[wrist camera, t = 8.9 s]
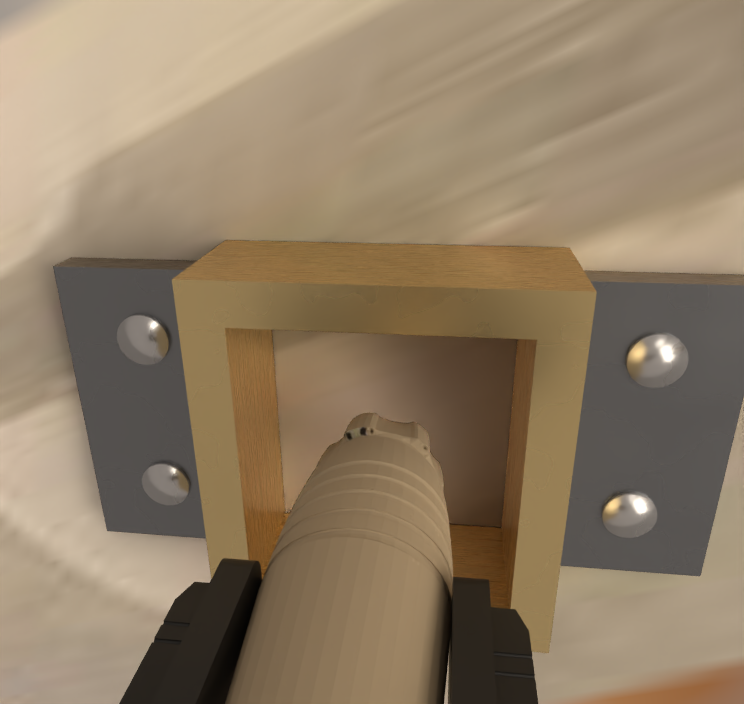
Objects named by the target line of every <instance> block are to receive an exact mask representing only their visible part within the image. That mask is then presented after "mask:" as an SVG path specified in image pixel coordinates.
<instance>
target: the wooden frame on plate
mask: <svg viewBox="0 0 744 704" xmlns="http://www.w3.org/2000/svg"><path fill="white" fill-rule="evenodd" d="M53 269H54V273H55V278H56V283H57V288H58V293H59V298H60V303H61V308H62V313H63V317H64V322H65V327H66V332H67V337H68V342H69V347H70V352H71V356H72V361H73V366H74V371H75V376H76V381H77V386H78V391H79V395H80V400H81V405H82V410H83V415H84V420H85V425H86V430H87V434H88V439H89V444H90V449H91V454H92V459H93V464H94V469H95V474H96V478H97V483H98V488H99V493H100V498H101V503H102V508H103V513H104V517H105V522H106V527H107V531H116V532H129V533H142V534H155V535H168V536H181V537H194V538H206V541H207V549H208V557H209V564H210V572H211V579H212V577H213V575H214V573H215V571H216V569H217V567H218V565H219V563H220V561H221V560H222V559H223V558H230V559H243V560H256V561H259V562H260V565H261V572H262V579H263V576H264V574H265V571H266V569H267V566H268V563H269V561H270V558H271V556H272V553H273V551H274V548H275V546H276V543H277V541H278V538H279V536H280V533H281V531H282V529H283V526H284V524H285V522H286V520H287V518H288V516H289V515H290V513H285V504H284V491H283V477H282V463H281V449H280V436H279V422H278V408H277V394H276V381H275V367H274V353H273V339H272V330H295V331H322V332H348V333H374V334H401V335H427V336H454V337H480V338H506V339H517V351H516V363H515V374H514V386H513V398H512V409H511V421H510V433H509V444H508V456H507V468H506V479H505V491H504V503H503V514H502V526H501V528H493V527H479V526H465V525H451V524H449V528H450V538H451V549H452V561H453V567H452V568H453V577H465V578H477V579H489V584H490V600H491V607H495V608H507V609H516V611H517V612H518V614H519V616H520V617H521V619H522V620H523V622H524V624H525V625H526V627H527V628H528V630H529V634H530V642H531V650H532V652H541V653H549V647H550V640H551V632H552V625H553V617H554V610H555V602H556V595H557V587H558V580H559V572H560V566H573V567H586V568H599V569H612V570H625V571H638V572H651V573H664V574H677V575H690V576H700V575H701V571H702V567H703V563H704V559H705V554H706V550H707V546H708V542H709V538H710V534H711V530H712V525H713V521H714V517H715V513H716V509H717V505H718V501H719V496H720V492H721V488H722V484H723V480H724V476H725V471H726V467H727V463H728V459H729V455H730V451H731V447H732V442H733V438H734V434H735V430H736V426H737V422H738V418H739V413H740V409H741V405H742V401H743V397H744V275H725V274H687V273H648V272H609V271H583V269H582V267H581V266H580V264H579V262H578V261H577V259H576V258H575V256H574V254H573V253H572V251H571V250H570V248H555V247H510V246H464V245H419V244H373V243H328V242H282V241H236V240H226V241H224V242H223V243H221V244H220V245H219V246H217V247H216V248H214V249H213V250H212V251H210V252H209V253H208V254H206V255H205V256H203V257H202V258H201V259H199V260H198V261H184V260H145V259H106V258H70V259H67V260H65V261H63V262H61V263H59V264H57V265H55V266H53Z"/></svg>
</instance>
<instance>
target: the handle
mask: <svg viewBox="0 0 744 704" xmlns="http://www.w3.org/2000/svg"><path fill="white" fill-rule="evenodd" d="M443 493H444V481H443V473H442V470H441V466H440V463H439V462H438V461H437V460H436V459H435V458H433V456H432V455H431V453H430V443H429V436H428V432H427V431H426V430H425V429H424V428H423V427H422V426H421V425H419V424H418V423H416V422H411V423H398V422H393V421H389V420H386V419H383V418H381V417H379V416H378V414H376V413H370V412H369V413H363V414H361V415H358V416H356V417H355V418H353V420H352V421H351V422H350V424H349V425H348V427H347V429H346V432H345V434H344V437H343V438H342V439H341V440H340V441H339V442H337V443H334V444H332V445H330V446H329V447H328V448H327V450H326V451H325V452H324V454H323V455H322V457H321V459H320V461H319V462H318V464H317V467H316V469H315V470H314V472H313V473H312V475H311V476H310V478H309V479H308V481H307V483H306V484H305V486H304V488H303V489H302V491H301V493H300V494H299V497H298V499H297V500H296V502H295V504H294V506H293V508H292V510H291V512H290V515H289V516H288V518H287V520H286V522H285V524H284V526H283V529H282V531H281V533H280V536H279V538H278V541H277V543H276V546H275V548H274V551H273V553H272V556H271V558H270V561H269V563H268V566H267V569H266V571H265V574H264V576H263V579H262V582H261V584H260V587H259V590H258V593H257V597H256V600H255V604H254V607H253V610H252V614H251V617H250V620H249V624H248V627H247V631H246V634H245V637H244V641H243V644H242V647H241V651H240V654H239V658H238V661H237V664H236V668H235V671H234V674H233V678H232V681H231V685H230V688H229V691H228V695H227V698H226V701H225V704H444V696H445V686H446V676H447V666H448V656H449V646H450V635H451V602H452V582H453V568H452V567H453V561H452V549H451V538H450V528H449V518H448V512H447V507H446V501H445V497H444V494H443Z"/></svg>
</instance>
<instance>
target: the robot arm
mask: <svg viewBox="0 0 744 704" xmlns="http://www.w3.org/2000/svg"><path fill="white" fill-rule="evenodd" d="M261 582H262V572H261V565H260V562H259V561H256V560H243V559H230V558H223V559H222V560H221V561H220V563H219V565H218V567H217V569H216V571H215V573H214V575H213V577H212V579H211V581H210V583H202V582H194V583H193V584H192V585H191V586H190V587H189V588H187V589H186V590H185V591H184V592H183V593H182V594H181V595H180V596H179V597H177V598H176V599H175V601H174V603H173V605H172V606H171V608H170V610H169V612H168V614H167V616H166V618H165V619H164V624H163V625H161V627H160V629H159V631H158V632H157V634H156V636H155V640H154V643H152V644H151V646H150V647H149V649H148V651H147V653H146V655H145V657H144V659H143V660H142V662H141V664H140V666H139V668H138V670H137V672H136V673H135V675H134V677H133V679H132V681H131V683H130V685H129V687H128V688H127V690H126V692H125V694H124V696H123V698H122V700H121V701H120V703H119V704H225V701H226V698H227V695H228V691H229V688H230V685H231V681H232V678H233V674H234V671H235V668H236V664H237V661H238V658H239V654H240V651H241V647H242V644H243V641H244V637H245V634H246V631H247V627H248V624H249V620H250V617H251V614H252V610H253V607H254V604H255V600H256V597H257V593H258V590H259V587H260V584H261ZM534 675H535V674H534V666H533V660H532V650H531V642H530V634H529V630H528V628H527V627H526V625H525V624H524V622H523V620H522V619H521V617H520V616H519V614H518V612H517V611H516V609H507V608H495V607H491V600H490V584H489V579H477V578H465V577H453V582H452V602H451V635H450V646H449V680H448V704H538V698H537V690H536V682H535V678H534Z"/></svg>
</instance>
